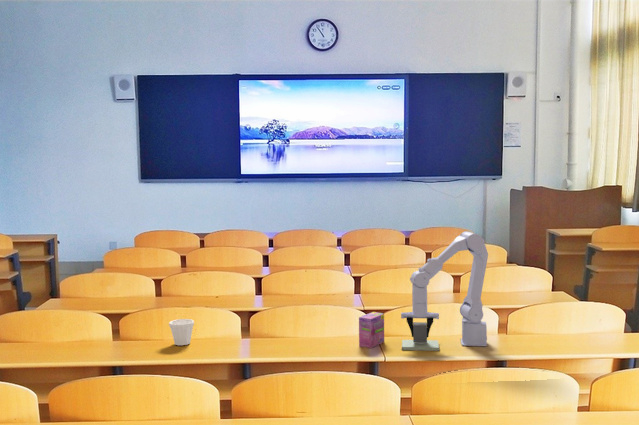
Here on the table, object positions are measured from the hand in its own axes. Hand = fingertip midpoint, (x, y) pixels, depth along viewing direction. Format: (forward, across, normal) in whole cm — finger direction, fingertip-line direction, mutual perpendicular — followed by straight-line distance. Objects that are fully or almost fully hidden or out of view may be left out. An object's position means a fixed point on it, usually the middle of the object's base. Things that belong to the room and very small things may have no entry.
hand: (420, 336), depth 244 cm
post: (+3, 0, 0) cm, 3 cm away
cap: (+2, 0, 0) cm, 2 cm away
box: (+4, +19, -2) cm, 20 cm away
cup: (+4, +96, +4) cm, 96 cm away
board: (+4, 0, 0) cm, 4 cm away
